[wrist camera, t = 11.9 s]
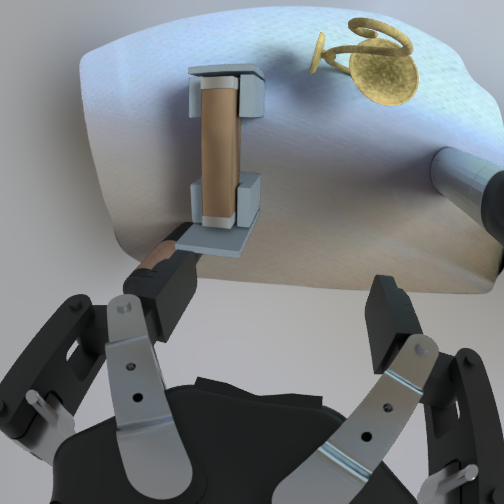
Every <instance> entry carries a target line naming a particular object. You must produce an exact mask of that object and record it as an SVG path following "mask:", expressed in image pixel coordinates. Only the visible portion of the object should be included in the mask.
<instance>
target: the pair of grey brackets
mask: <svg viewBox="0 0 504 504" xmlns="http://www.w3.org/2000/svg"><path fill="white" fill-rule="evenodd" d="M188 74H190V75H194V76H198V77H190V78H189V118H193V117H201V112H202V89H201V78H204V77H221V76H234V77H236V78H238V79H240V80H241V81H240V113H239V117H264V96H265V82H264V81H262V80H265V73H264V72H263V71H261V70H260V69H259V68H258V67H257V66H256V65H255V64H224V65H208V66H197V67H188ZM190 187H191V208H192V222H195V223H194V224H193V225H192V226H191V227H190V228H189V229H188V230H187V231H186V232H185V233H184V234H183V236H182V237H181V238H180V239H179V240H178V241H177V242H176V243H175V248H176V250H177V249H180V250H187V251H193V252H194V253H201V254H209V255H217V256H224V257H232V258H239V257H240V255H241V253H242V251H243V249H244V246H245V244H246V242H247V240H248V238H249V235H250V233H251V231H252V229H253V227H254V225H255V222H256V220H257V218H258V216H259V211H260V209H259V207H260V190H261V174H258V173H244V172H240V186H239V187H238V211H237V219H236V221H235V222H234V224H233V226H232V227H231V229H227V228H217V227H208V226H202V215H203V198H202V177H201V178H199V179H198V180H196V181H195V182H193V183H192V184H191V185H190Z"/></svg>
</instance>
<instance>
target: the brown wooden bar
mask: <svg viewBox="0 0 504 504" xmlns="http://www.w3.org/2000/svg"><path fill="white" fill-rule="evenodd" d="M240 81H241V80H240V79H238V78H236V77H234V76H221V77H204V78H201V89H202V112H201V152H202V198H203V215H202V226H208V227H217V228H227V229H231V227H232V226H233V224H234V222H235V221H236V219H237V211H238V187H239V186H240V143H241V117H239V113H240Z"/></svg>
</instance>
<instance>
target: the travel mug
mask: <svg viewBox="0 0 504 504" xmlns="http://www.w3.org/2000/svg"><path fill="white" fill-rule="evenodd" d="M193 224H194V223H192V222H186V223H183V224H181V225H180V226H179V227H177V228H176V229H175V230H174V231H173V232H172V233H171V234H169V235H168V236H167V237H166V238H165V239H164V240H163V241H162V242H161V243H160V244H159V245H158V246H157V247H156V248H155V249H154V250H153V251H152V252H151V253H150V254H149V255H148V256H147V257H146V258H145V259H144V260H143V261H142V263H141V264H140V265H139V266H138V267H137V268H136V269H135V270H134V271H133V272H132V273H131V275H130V276H129V277H128V278H127V279H126V280H125V282H124V284H123V293H124V294H131V293H132V291H133V290H134V289H135V288H136V287H137V285H138V284H139V283H140V282H141V281H142V280H143V278H144V277H146V275H147V274H148V273H149V272H151V269H152V268H153V267H154V266H155V265H156V264H157V263H158V262H160V261H162V260H164V259H165V258H166V259H169V258H170V257H171V255H172V254H173V253H174V252H175V251H176V248H175V243H176V242H177V241H178V240H179V239H180V238H181V237H182V236H183V234H184V233H185V232H186V231H187V230H188V229H189V228H190V227H191V226H192V225H193ZM194 254H195V262H196V264H197V262H198V260H199V259H200V257H201V256H202V254H201V253H194Z"/></svg>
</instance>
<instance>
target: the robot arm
mask: <svg viewBox="0 0 504 504" xmlns="http://www.w3.org/2000/svg"><path fill="white" fill-rule="evenodd" d="M430 173H431V180H432V183H433V185H434V187H435V188H436V189H437V191H439V192H440V193H441V194H442V195H444V196H445V197H446V198H448V199H449V200H450V201H451V202H453V203H454V204H455V205H456V206H458V207H459V208H460V209H461V210H463V211H464V212H465V213H466V214H468V215H469V216H470V217H471V218H472V219H473V220H475V221H476V222H477V223H478V224H479V225H480V226H482V227H483V228H484V229H485V230H486V231H487V232H488V233H489V234H490V235H491V236H493V237H494V238H495V239H496V240H497V241H498V242H499V243H500V244H502V245H503V246H504V168H503V167H501V166H499V165H496V164H494V163H492V162H490V161H487V160H485V159H482V158H480V157H477V156H475V155H472V154H470V153H467V152H464V151H462V150H459V149H456V148H452V147H447V148H444V149H442V150H440V151H439V152H438V153H437V154H436V155H435V157H434V159H433V161H432V164H431V170H430ZM196 287H197V273H196V262H195V254H194V252H193V251H187V250H180V249H177V250H176V251H175V252H174V253H173V254H172V255H171V257H170V258H169V259H166V258H165V259H164V260H162V261H160V262H158V263H157V264H156V265H155V266H154V267H153V268H152V269H151V272H149V273H148V274H147V275H146V277H144V278H143V280H142V281H141V282H140V283H139V284H138V285H137V287H136V288H135V289H134V290H133V291H132V293H131V294H123V295H119V296H117V297H115V298H113V299H112V300H111V301H110V302H109V303H108V305H92V302H91V300H90V298H89V297H88V296H87V295H84V294H78V295H74V296H72V297H70V298H68V299H67V300H66V301H65V302H64V303H63V304H62V305H61V306H60V307H59V308H58V309H57V311H56V312H55V313H54V314H53V315H52V316H51V318H50V319H49V320H48V321H47V322H46V323H45V325H44V326H43V327H42V328H41V329H40V331H39V332H38V333H37V334H36V336H35V337H34V338H33V339H32V341H31V342H30V343H29V345H28V346H27V347H26V348H25V350H24V351H23V352H22V354H21V355H20V356H19V358H18V359H17V360H16V362H15V363H14V365H13V366H12V367H11V369H10V370H9V372H8V373H7V374H6V376H5V377H4V379H3V380H2V382H1V383H0V430H1V431H2V432H3V433H4V434H5V435H6V436H7V437H8V438H9V439H11V440H12V441H13V442H15V443H16V444H17V445H19V446H20V447H21V448H23V449H24V450H25V451H28V452H30V453H31V454H33V455H34V456H36V457H37V458H38V459H41V460H44V461H45V462H47V463H48V464H50V465H51V466H52V467H53V492H52V498H51V501H50V504H504V439H503V433H502V428H501V423H500V419H499V414H498V411H497V407H496V402H495V399H494V395H493V392H492V388H491V385H490V382H489V379H488V376H487V373H486V370H485V367H484V364H483V361H482V359H481V357H480V356H479V355H478V354H477V353H476V352H475V351H474V350H472V349H469V348H462V349H460V350H459V351H458V352H457V354H456V355H455V356H452V355H448V354H445V353H442V352H439V349H438V346H437V344H436V343H435V342H434V341H433V340H432V339H431V338H430V337H428V336H426V335H424V334H423V332H422V329H421V326H420V323H419V321H418V318H417V316H416V313H415V310H414V308H413V306H412V303H411V300H410V298H409V296H408V295H407V294H406V293H405V292H404V291H403V289H399V288H398V287H397V285H396V282H395V280H394V278H393V277H392V276H385V275H376V276H375V278H374V281H373V284H372V287H371V290H370V293H369V296H368V299H367V302H366V306H365V320H366V325H367V331H368V337H369V343H370V349H371V356H372V362H373V370H374V374H383V375H382V376H381V378H380V379H379V380H378V382H377V383H376V384H375V386H374V387H373V388H372V389H371V391H370V392H369V393H368V395H367V396H366V397H365V399H364V400H363V401H362V402H361V403H360V404H359V406H358V407H357V408H356V409H355V411H354V412H353V413H352V414H351V415H350V416H349V417H348V418H347V419H346V418H345V417H344V416H343V415H341V414H340V413H339V412H337V411H335V410H333V409H331V408H329V407H326V406H323V405H322V398H323V397H322V396H311V395H301V394H280V395H266V396H258V395H254V394H252V393H249V392H247V391H244V390H242V389H239V388H237V387H235V386H232V385H230V384H228V383H224V382H219V381H214V380H210V379H206V378H201V377H197V379H196V382H195V384H194V385H182V386H176V387H173V388H169V389H167V387H166V385H165V382H164V378H163V376H162V372H161V369H160V366H159V362H158V359H157V356H156V352H155V349H154V344H155V343H156V341H160V342H164V343H166V342H167V341H168V339H169V337H170V335H171V334H172V332H173V330H174V328H175V327H176V325H177V323H178V321H179V320H180V318H181V316H182V314H183V312H184V311H185V309H186V307H187V306H188V304H189V302H190V300H191V299H192V297H193V295H194V293H195V291H196ZM75 340H77V342H78V344H79V345H78V346H77V348H76V349H75V351H74V352H73V353H72V355H71V357H70V358H69V359H68V361H67V360H66V356H67V352H68V350H69V349H70V347H71V346H72V344H73V343H74V342H75ZM105 360H107V368H108V376H109V383H110V389H111V396H112V402H113V407H114V412H115V416H113V417H111V418H109V419H107V420H105V421H103V422H101V423H99V424H96V425H95V426H92V427H90V428H88V429H85V430H83V431H81V432H79V433H76V434H75V430H74V427H75V423H74V418H73V417H74V415H75V413H76V411H77V409H78V407H79V405H80V403H81V402H82V400H83V398H84V396H85V395H86V393H87V391H88V389H89V387H90V386H91V384H92V382H93V380H94V379H95V377H96V375H97V373H98V371H99V370H100V368H101V367H102V365H103V363H104V362H105ZM456 401H458V405H459V410H460V417H459V419H458V414H457V408H456V403H455V402H456ZM418 403H422V404H424V412H425V420H426V431H427V444H428V462H429V463H428V465H429V477H428V478H427V479H426V480H425V481H424V483H423V484H422V486H421V489H420V492H419V494H418V496H417V499H418V500H416V499H415V497H414V496H413V495H412V494H411V493H410V492H409V491H408V489H407V488H406V487H405V486H404V485H403V484H402V483H401V482H400V480H399V479H398V478H397V477H396V476H395V475H394V473H393V472H392V471H391V470H390V469H389V468H388V466H387V465H386V464H385V463H384V462H383V461H382V459H383V458H384V456H385V455H386V454H387V452H388V451H389V449H390V448H391V446H392V445H393V444H394V442H395V441H396V439H397V438H398V436H399V434H400V433H401V431H402V430H403V428H404V427H405V425H406V423H407V422H408V420H409V418H410V417H411V415H412V413H413V411H414V410H415V408H416V406H417V404H418Z"/></svg>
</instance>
